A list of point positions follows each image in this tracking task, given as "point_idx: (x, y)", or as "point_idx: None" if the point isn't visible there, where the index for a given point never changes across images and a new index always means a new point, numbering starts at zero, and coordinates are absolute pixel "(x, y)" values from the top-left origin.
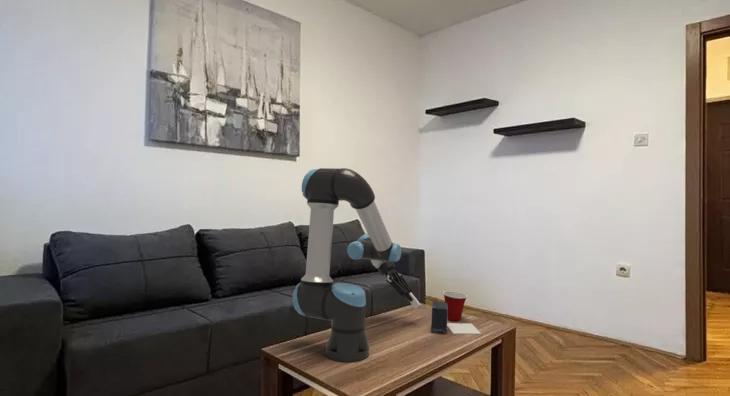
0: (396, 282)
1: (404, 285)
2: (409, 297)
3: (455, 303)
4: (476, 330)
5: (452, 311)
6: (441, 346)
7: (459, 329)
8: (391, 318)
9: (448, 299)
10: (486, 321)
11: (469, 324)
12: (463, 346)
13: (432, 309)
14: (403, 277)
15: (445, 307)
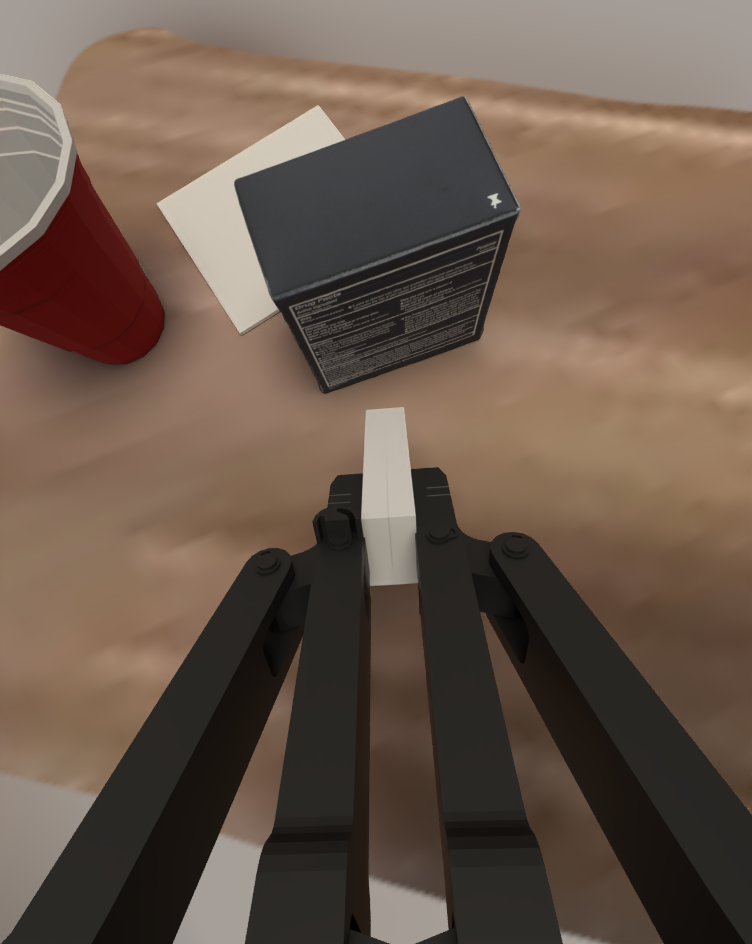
0: (689, 799)
1: (357, 661)
2: (451, 504)
3: (94, 193)
4: (278, 140)
5: (133, 270)
6: (667, 201)
7: None
8: None
9: (75, 229)
10: None
11: (181, 207)
12: (582, 114)
13: (515, 221)
14: (52, 886)
15: (427, 120)
